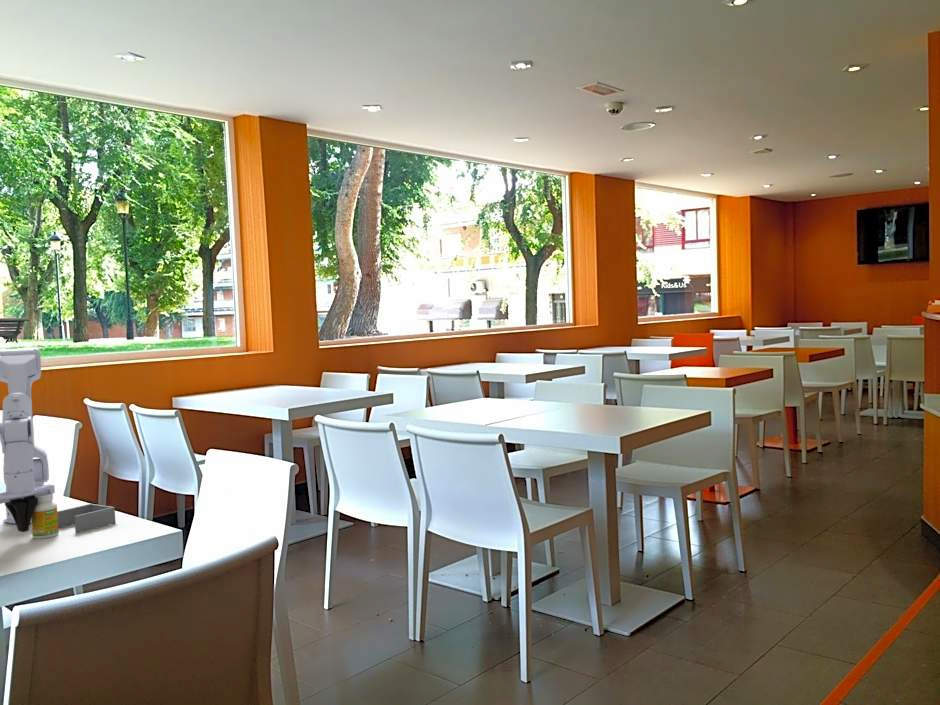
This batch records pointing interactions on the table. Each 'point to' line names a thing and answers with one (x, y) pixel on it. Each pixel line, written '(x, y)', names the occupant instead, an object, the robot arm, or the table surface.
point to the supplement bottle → (45, 518)
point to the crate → (86, 517)
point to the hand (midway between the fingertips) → (23, 530)
